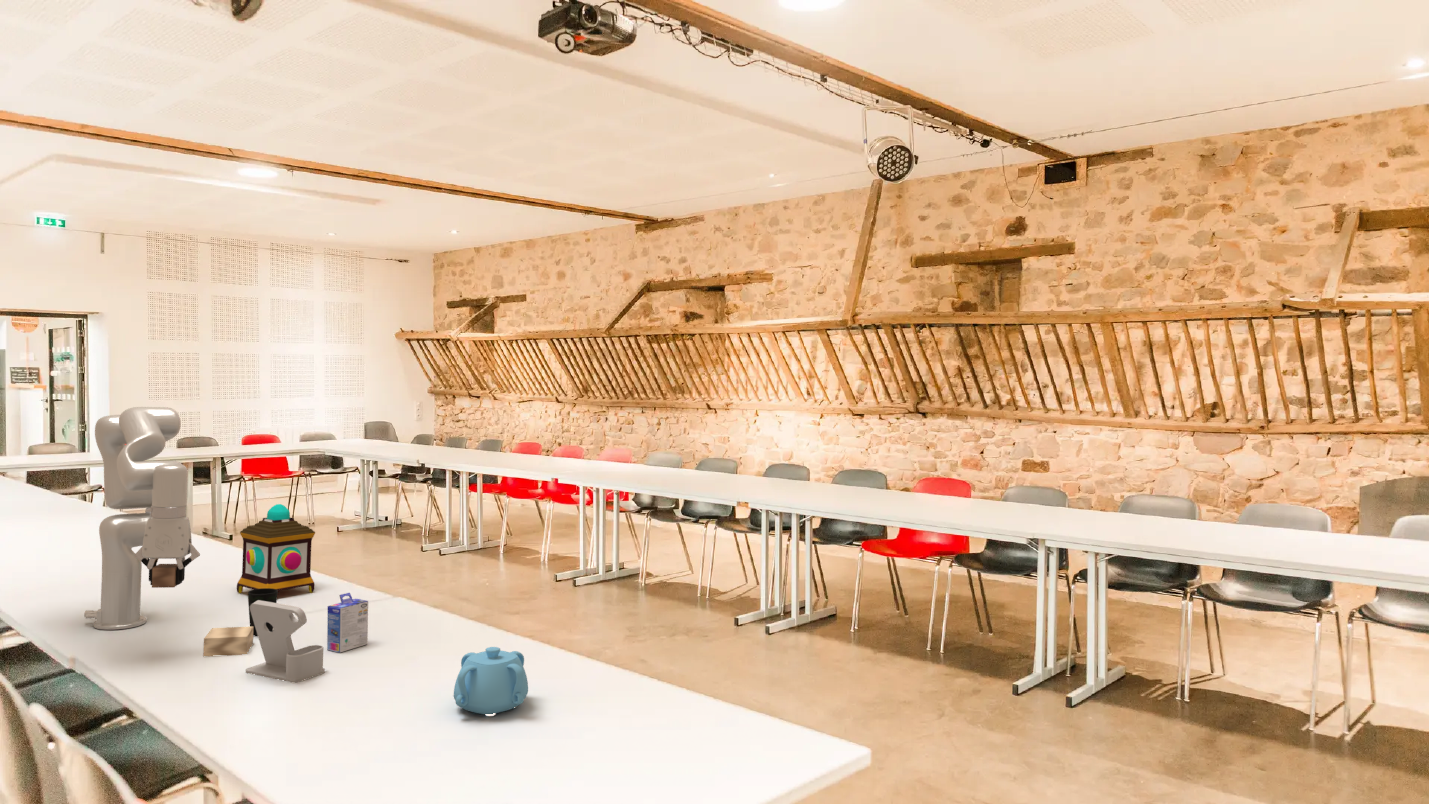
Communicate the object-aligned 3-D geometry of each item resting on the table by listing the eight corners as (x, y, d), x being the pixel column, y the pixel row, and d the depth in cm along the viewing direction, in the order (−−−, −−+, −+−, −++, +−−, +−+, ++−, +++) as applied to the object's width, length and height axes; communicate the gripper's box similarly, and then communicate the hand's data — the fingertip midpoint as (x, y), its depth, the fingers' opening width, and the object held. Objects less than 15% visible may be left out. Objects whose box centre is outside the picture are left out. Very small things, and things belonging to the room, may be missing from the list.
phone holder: (328, 672, 222) (330, 600, 222) (296, 683, 213) (298, 608, 213) (275, 661, 229) (278, 591, 228) (242, 672, 219) (244, 599, 219)
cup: (263, 638, 248) (265, 595, 248) (239, 635, 249) (241, 593, 249) (282, 631, 255) (284, 589, 255) (259, 628, 257) (260, 587, 257)
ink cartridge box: (353, 641, 249) (355, 589, 248) (368, 644, 246) (370, 592, 246) (324, 650, 240) (326, 596, 240) (340, 653, 237) (341, 599, 237)
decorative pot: (522, 721, 196) (525, 659, 195) (447, 720, 194) (450, 658, 194) (530, 695, 212) (532, 638, 212) (460, 695, 210) (463, 637, 210)
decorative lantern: (320, 592, 302) (323, 504, 302) (264, 603, 286) (267, 509, 285) (286, 583, 313) (289, 498, 313) (229, 593, 296) (233, 503, 296)
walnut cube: (151, 587, 224) (152, 567, 224) (158, 583, 229) (159, 563, 229) (173, 587, 226) (174, 567, 226) (180, 583, 231) (181, 563, 230)
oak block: (203, 657, 230) (203, 638, 230) (211, 646, 240) (212, 628, 239) (246, 655, 233) (247, 636, 233) (252, 644, 243) (253, 626, 243)
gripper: (125, 514, 221) (122, 587, 222) (201, 515, 226) (198, 587, 226) (137, 510, 229) (134, 580, 229) (210, 511, 233) (207, 580, 233)
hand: (166, 583), depth 228 cm, fingers closed on walnut cube, 5 cm apart
